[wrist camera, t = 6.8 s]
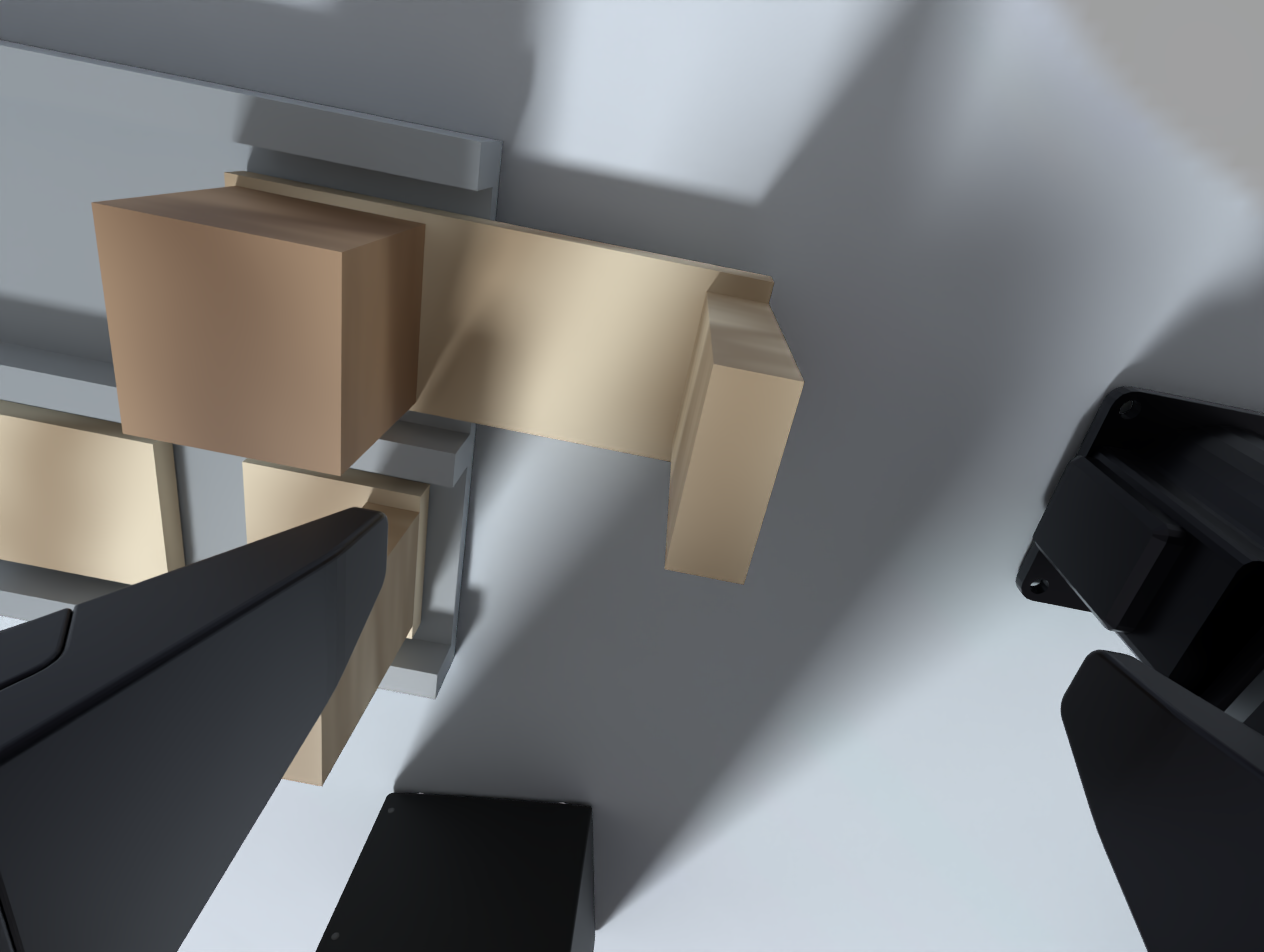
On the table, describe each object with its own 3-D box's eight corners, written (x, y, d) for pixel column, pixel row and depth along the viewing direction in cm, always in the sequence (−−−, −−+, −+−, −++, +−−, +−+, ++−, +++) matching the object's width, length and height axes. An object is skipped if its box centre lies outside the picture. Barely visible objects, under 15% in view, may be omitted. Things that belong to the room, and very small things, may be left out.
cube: (425, 223, 17) (342, 252, 13) (416, 402, 19) (340, 476, 15) (235, 185, 17) (91, 202, 13) (245, 368, 19) (122, 433, 15)
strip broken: (430, 484, 21) (320, 630, 15) (420, 622, 23) (322, 801, 17) (-20, 395, 21) (-321, 506, 15) (13, 544, 23) (-236, 695, 17)
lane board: (503, 141, 17) (481, 142, 16) (454, 657, 24) (435, 699, 23) (-117, 16, 17) (-211, 2, 15) (11, 571, 24) (-44, 607, 22)
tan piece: (770, 276, 18) (813, 352, 12) (722, 460, 20) (737, 606, 14) (243, 170, 18) (2, 190, 11) (252, 367, 20) (53, 473, 14)
